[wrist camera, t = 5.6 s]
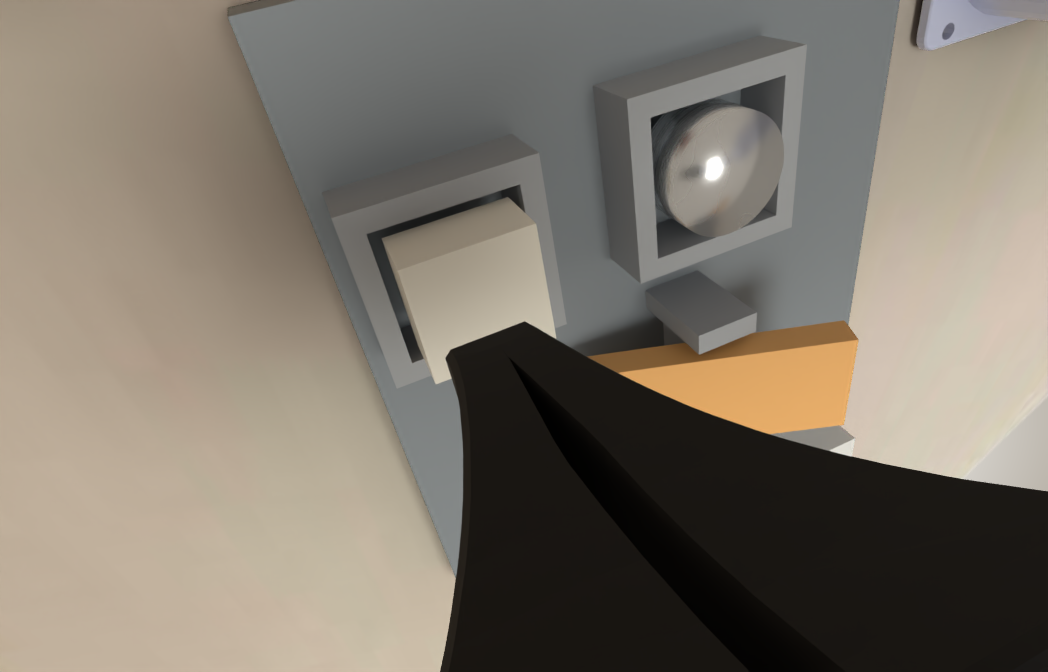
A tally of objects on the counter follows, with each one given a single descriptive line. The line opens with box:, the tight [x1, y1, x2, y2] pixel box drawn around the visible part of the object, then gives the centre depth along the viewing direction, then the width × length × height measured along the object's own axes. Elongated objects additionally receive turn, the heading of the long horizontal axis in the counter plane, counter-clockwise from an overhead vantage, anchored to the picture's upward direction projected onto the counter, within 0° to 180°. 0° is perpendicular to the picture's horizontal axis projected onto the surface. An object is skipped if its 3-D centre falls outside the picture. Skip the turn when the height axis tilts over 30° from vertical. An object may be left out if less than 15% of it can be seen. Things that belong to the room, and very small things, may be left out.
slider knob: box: [771, 426, 855, 457], centre depth 26 cm, size 2×2×3 cm
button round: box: [651, 97, 784, 237], centre depth 17 cm, size 3×3×2 cm
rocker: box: [587, 320, 858, 434], centre depth 21 cm, size 8×4×1 cm, turn 101°
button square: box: [382, 197, 556, 384], centre depth 15 cm, size 3×3×2 cm
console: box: [228, 0, 900, 577], centre depth 21 cm, size 18×22×5 cm
